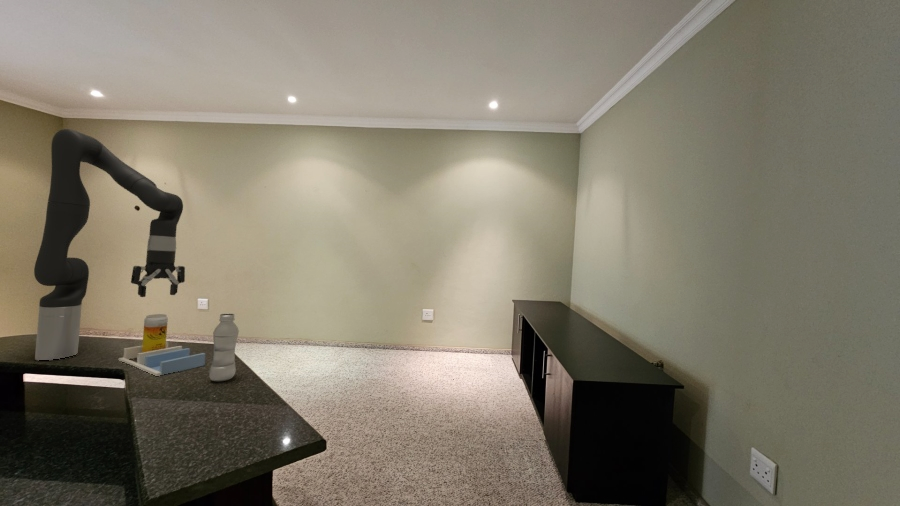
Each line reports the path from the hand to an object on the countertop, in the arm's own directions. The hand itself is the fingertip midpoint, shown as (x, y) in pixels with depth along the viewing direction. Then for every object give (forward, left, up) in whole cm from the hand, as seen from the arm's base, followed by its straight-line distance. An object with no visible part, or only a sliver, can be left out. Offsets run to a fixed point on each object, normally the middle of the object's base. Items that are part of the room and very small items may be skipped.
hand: (157, 295), depth 115 cm
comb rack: (+7, 0, -22) cm, 23 cm away
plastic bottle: (+36, +2, -22) cm, 42 cm away
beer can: (0, 0, -22) cm, 22 cm away
